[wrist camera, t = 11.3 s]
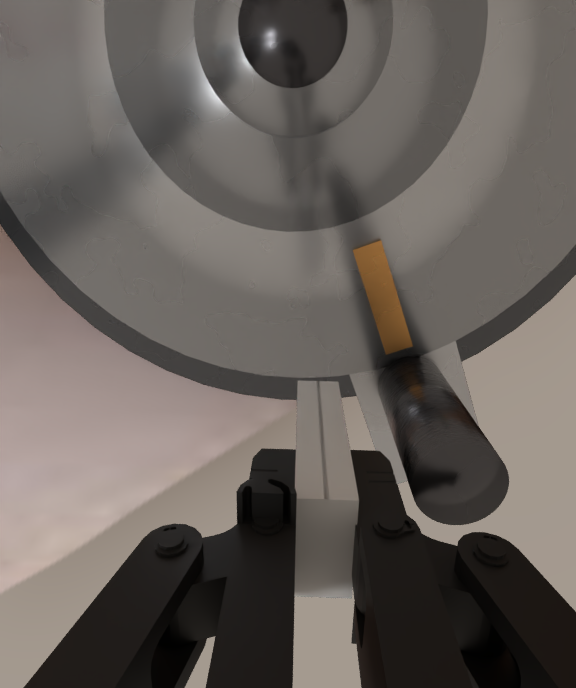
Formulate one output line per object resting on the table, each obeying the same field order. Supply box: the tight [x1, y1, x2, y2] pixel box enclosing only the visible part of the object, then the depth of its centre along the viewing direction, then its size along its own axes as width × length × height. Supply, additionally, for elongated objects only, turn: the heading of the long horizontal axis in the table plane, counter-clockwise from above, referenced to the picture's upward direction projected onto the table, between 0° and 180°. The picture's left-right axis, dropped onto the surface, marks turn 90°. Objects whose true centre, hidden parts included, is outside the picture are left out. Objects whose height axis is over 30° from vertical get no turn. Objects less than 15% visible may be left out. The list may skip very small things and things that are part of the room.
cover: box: [104, 0, 488, 232], centre depth 13 cm, size 9×9×4 cm
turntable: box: [0, 0, 576, 525], centre depth 13 cm, size 23×25×8 cm
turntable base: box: [0, 192, 576, 400], centre depth 17 cm, size 26×26×1 cm
